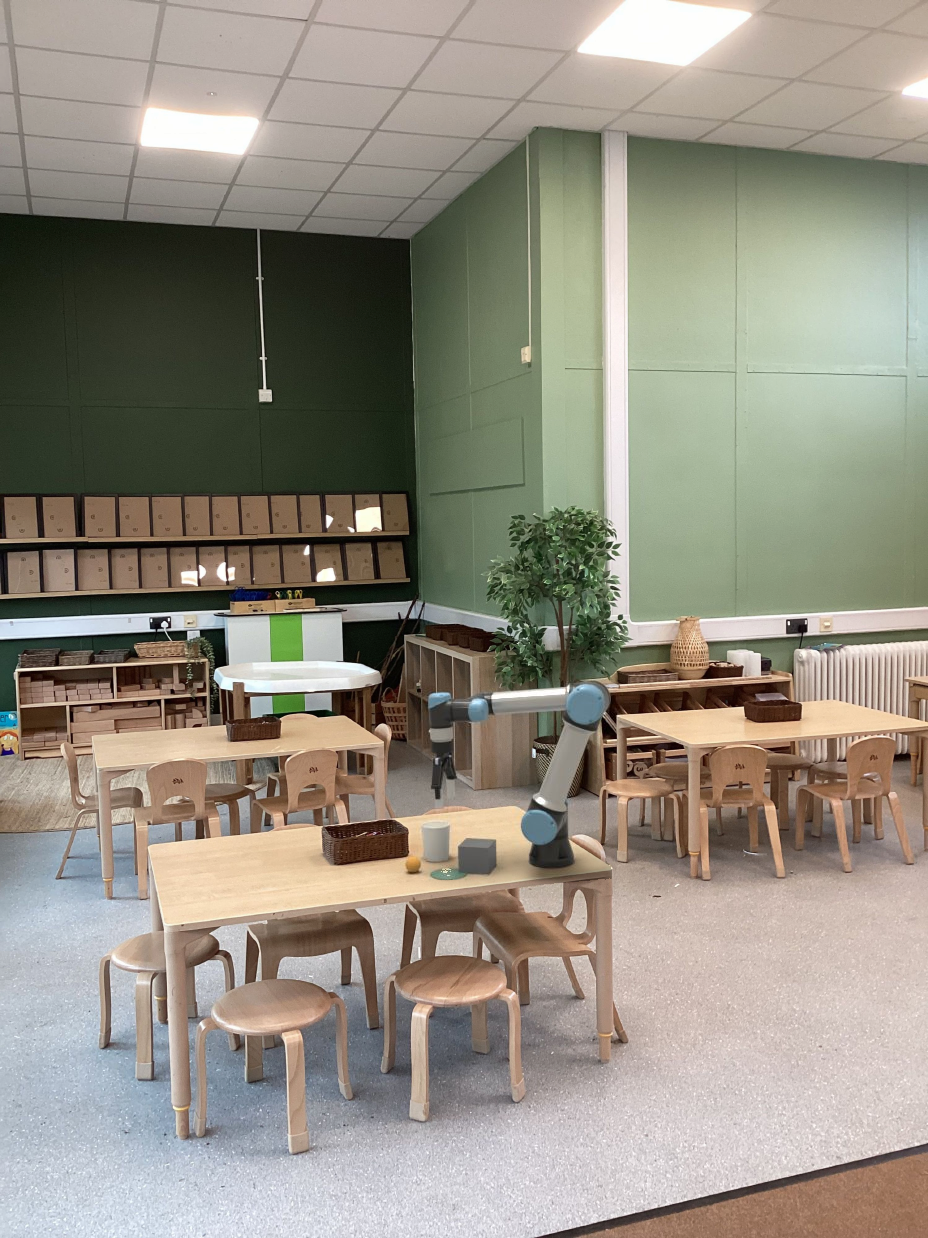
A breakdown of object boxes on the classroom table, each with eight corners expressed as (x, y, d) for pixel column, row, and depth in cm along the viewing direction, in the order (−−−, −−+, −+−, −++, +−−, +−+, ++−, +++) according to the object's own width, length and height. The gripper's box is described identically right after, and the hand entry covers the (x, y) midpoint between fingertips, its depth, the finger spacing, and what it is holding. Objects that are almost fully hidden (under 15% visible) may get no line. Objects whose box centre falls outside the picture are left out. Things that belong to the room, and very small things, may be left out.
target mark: (471, 869, 354) (471, 869, 354) (461, 881, 343) (461, 880, 343) (436, 867, 357) (436, 867, 357) (425, 878, 346) (425, 878, 346)
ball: (423, 870, 355) (422, 855, 355) (418, 875, 350) (417, 859, 350) (408, 869, 356) (408, 854, 356) (403, 874, 352) (403, 859, 351)
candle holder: (447, 863, 362) (446, 828, 361) (419, 862, 364) (418, 827, 363) (453, 855, 372) (452, 820, 371) (426, 854, 374) (425, 820, 373)
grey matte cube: (496, 865, 358) (496, 839, 357) (489, 874, 348) (488, 848, 348) (467, 864, 361) (466, 838, 360) (458, 873, 351) (457, 846, 350)
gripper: (442, 733, 368) (445, 795, 369) (419, 747, 344) (422, 812, 345) (463, 733, 365) (466, 795, 367) (441, 747, 342) (445, 813, 343)
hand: (445, 804), depth 356 cm, fingers open, 13 cm apart
